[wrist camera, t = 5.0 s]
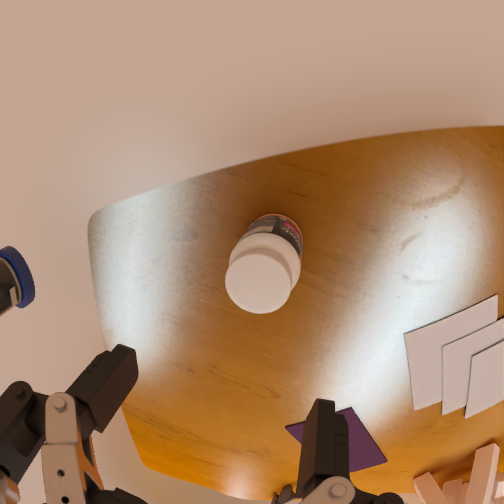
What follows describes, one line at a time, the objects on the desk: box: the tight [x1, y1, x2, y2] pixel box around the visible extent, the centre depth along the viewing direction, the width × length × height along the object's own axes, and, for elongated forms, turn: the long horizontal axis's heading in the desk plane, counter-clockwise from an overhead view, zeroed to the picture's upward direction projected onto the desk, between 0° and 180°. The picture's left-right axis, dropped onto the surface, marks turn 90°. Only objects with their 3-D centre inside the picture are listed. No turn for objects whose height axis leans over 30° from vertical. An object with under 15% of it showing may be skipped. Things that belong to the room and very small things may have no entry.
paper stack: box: [404, 294, 504, 419], centre depth 29 cm, size 23×25×1 cm
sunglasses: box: [271, 485, 303, 504], centre depth 48 cm, size 16×17×5 cm
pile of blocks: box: [413, 443, 504, 504], centre depth 30 cm, size 35×30×35 cm
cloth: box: [285, 407, 387, 473], centre depth 40 cm, size 22×11×1 cm, turn 34°
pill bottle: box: [225, 214, 303, 314], centre depth 25 cm, size 6×6×10 cm
